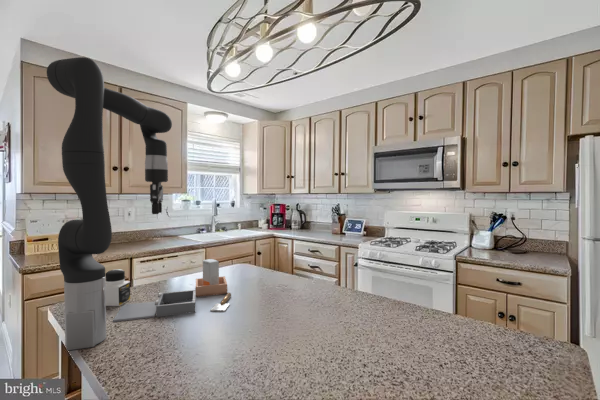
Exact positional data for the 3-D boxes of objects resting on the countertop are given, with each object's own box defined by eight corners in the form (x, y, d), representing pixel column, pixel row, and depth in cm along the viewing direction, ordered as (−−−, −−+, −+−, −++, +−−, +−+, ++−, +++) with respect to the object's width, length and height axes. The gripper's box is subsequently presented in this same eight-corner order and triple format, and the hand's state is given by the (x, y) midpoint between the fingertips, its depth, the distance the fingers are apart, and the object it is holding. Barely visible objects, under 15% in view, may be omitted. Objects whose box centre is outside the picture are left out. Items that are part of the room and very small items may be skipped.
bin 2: (227, 294, 123) (227, 284, 123) (195, 297, 119) (195, 287, 119) (224, 285, 134) (224, 276, 134) (195, 288, 131) (195, 278, 130)
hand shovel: (222, 296, 120) (222, 292, 120) (235, 296, 120) (235, 292, 119) (210, 311, 105) (210, 307, 105) (224, 311, 105) (224, 307, 104)
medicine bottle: (119, 306, 110) (118, 273, 109) (99, 306, 110) (99, 273, 109) (130, 299, 117) (130, 268, 116) (112, 299, 117) (111, 268, 117)
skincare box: (202, 288, 127) (202, 260, 127) (211, 286, 130) (211, 258, 130) (210, 292, 123) (209, 262, 122) (219, 289, 126) (219, 260, 126)
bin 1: (195, 312, 104) (195, 299, 104) (112, 322, 96) (112, 308, 96) (195, 298, 117) (195, 287, 117) (123, 306, 110) (123, 294, 109)
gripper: (165, 167, 106) (166, 214, 106) (169, 170, 119) (169, 212, 119) (141, 166, 103) (142, 215, 104) (148, 169, 117) (148, 212, 117)
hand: (157, 213), depth 111 cm, fingers open, 8 cm apart
